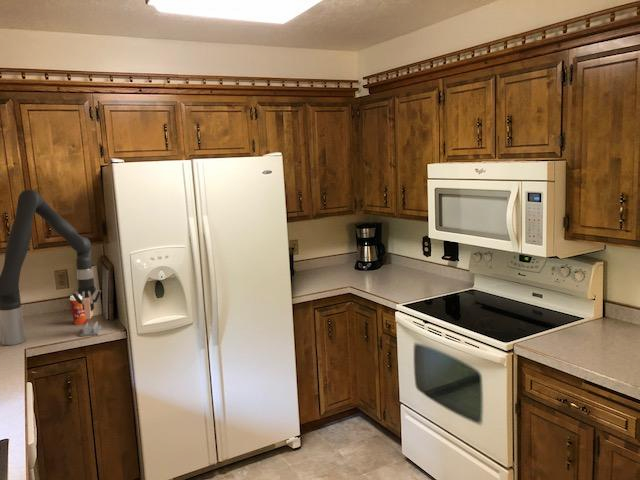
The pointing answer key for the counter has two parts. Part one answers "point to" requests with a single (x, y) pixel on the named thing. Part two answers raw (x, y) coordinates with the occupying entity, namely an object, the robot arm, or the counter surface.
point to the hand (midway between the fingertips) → (88, 310)
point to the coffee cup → (77, 311)
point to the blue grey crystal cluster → (90, 330)
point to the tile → (87, 308)
